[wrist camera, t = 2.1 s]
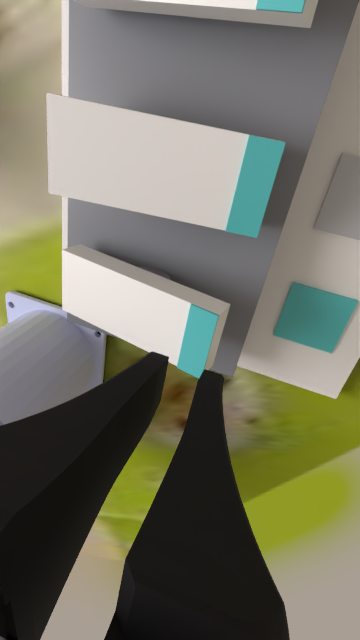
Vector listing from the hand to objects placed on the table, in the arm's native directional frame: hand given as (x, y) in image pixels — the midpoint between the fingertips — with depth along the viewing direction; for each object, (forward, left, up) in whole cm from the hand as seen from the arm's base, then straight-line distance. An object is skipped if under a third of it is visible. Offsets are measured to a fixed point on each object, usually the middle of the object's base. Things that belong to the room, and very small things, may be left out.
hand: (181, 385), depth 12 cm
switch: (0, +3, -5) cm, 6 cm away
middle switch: (+6, +3, -6) cm, 9 cm away
